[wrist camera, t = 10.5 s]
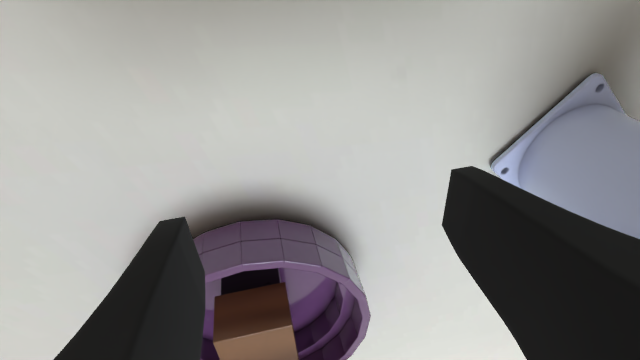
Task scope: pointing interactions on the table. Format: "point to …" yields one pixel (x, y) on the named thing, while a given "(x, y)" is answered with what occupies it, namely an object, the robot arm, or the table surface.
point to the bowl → (291, 282)
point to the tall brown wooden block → (254, 318)
